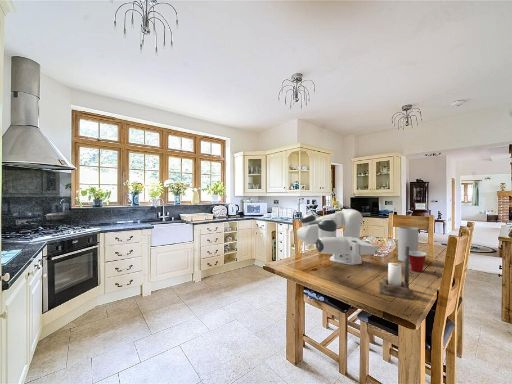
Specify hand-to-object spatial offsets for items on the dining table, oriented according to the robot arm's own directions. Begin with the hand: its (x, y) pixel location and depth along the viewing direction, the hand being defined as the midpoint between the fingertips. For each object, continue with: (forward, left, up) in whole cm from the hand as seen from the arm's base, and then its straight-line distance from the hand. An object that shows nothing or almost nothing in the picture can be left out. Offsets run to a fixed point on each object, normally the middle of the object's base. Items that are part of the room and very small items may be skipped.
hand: (374, 244), depth 120 cm
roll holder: (+10, +6, -25) cm, 27 cm away
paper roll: (+10, +6, -24) cm, 26 cm away
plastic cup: (+26, +48, -25) cm, 60 cm away
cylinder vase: (+24, +70, -25) cm, 78 cm away
